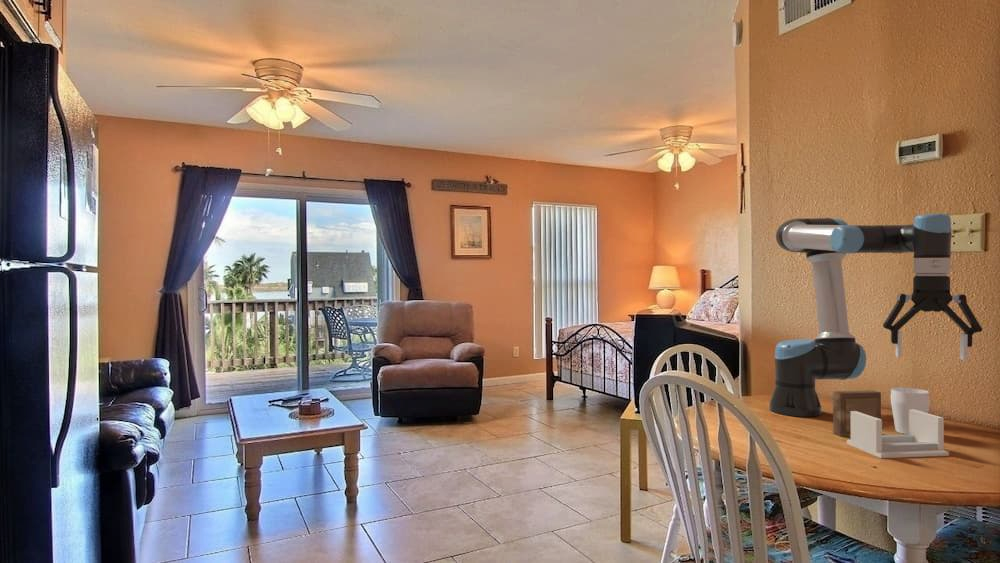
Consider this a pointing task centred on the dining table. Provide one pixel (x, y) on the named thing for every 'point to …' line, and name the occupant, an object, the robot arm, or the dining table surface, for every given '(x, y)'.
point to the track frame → (899, 436)
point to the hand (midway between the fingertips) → (930, 358)
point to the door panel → (853, 408)
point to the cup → (907, 405)
